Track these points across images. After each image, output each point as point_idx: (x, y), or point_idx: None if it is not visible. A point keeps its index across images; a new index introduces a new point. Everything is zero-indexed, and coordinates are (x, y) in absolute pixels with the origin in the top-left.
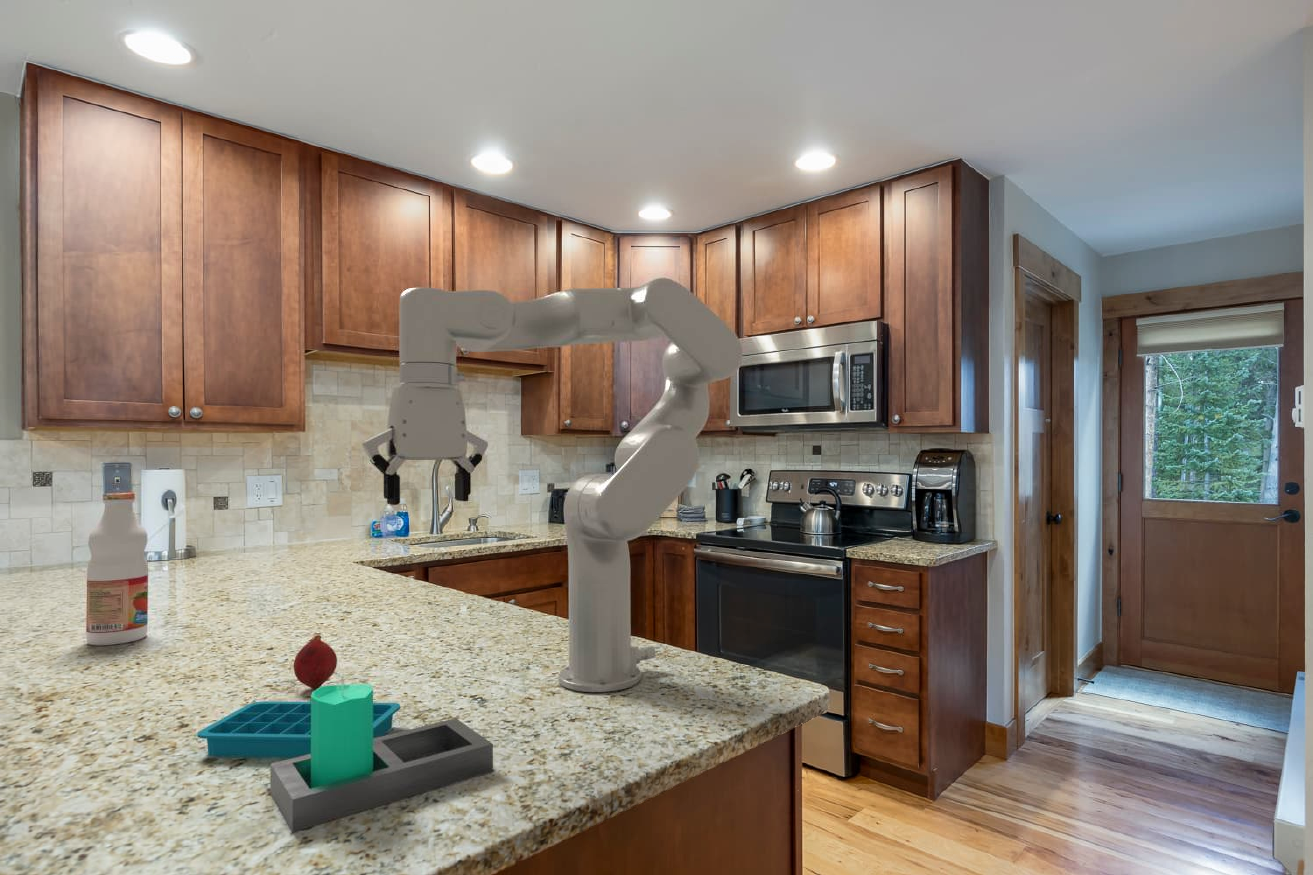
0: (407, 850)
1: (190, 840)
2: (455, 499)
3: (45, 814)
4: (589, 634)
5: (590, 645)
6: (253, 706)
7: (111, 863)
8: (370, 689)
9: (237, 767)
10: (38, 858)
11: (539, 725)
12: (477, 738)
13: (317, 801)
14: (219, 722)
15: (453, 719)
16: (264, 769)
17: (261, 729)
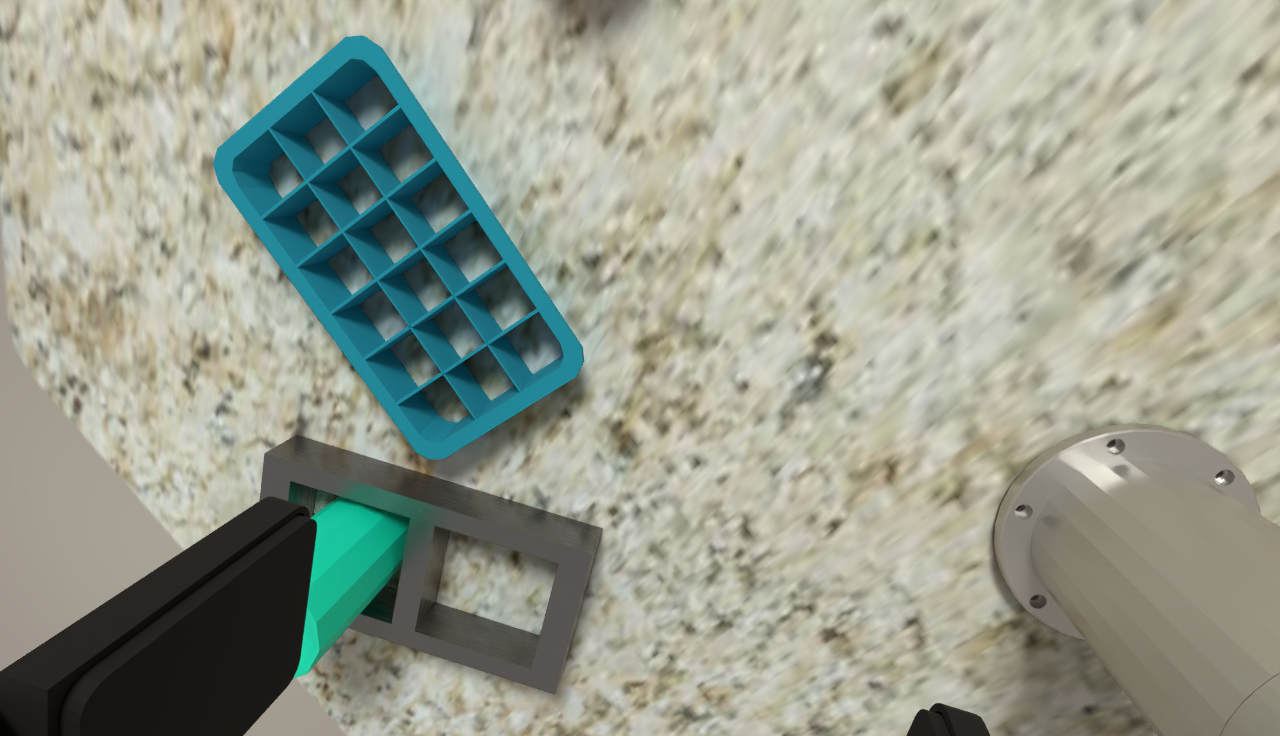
0: (362, 716)
1: (182, 478)
2: (916, 715)
3: (37, 213)
4: (1099, 650)
5: (1082, 630)
6: (353, 59)
7: (102, 454)
8: (303, 669)
9: (288, 285)
10: (35, 363)
11: (766, 598)
12: (553, 657)
13: None
14: (262, 124)
15: (584, 556)
16: (319, 335)
17: (313, 252)
